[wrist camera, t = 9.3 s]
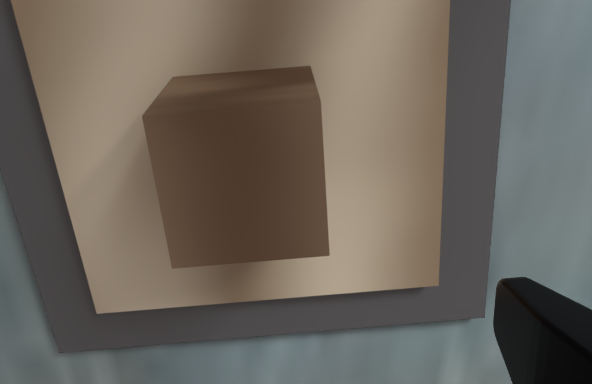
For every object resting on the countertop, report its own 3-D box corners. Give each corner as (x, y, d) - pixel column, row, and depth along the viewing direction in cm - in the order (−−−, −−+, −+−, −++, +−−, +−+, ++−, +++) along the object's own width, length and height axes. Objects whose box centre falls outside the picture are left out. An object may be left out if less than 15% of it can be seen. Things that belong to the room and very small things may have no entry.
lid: (447, -100, 15) (516, -119, 11) (433, 276, 20) (477, 365, 15) (3, -64, 15) (-105, -68, 10) (101, 303, 20) (55, 400, 15)
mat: (518, -189, 14) (527, -194, 14) (479, 309, 21) (484, 317, 20) (-88, -140, 14) (-100, -143, 14) (64, 343, 21) (59, 352, 20)
